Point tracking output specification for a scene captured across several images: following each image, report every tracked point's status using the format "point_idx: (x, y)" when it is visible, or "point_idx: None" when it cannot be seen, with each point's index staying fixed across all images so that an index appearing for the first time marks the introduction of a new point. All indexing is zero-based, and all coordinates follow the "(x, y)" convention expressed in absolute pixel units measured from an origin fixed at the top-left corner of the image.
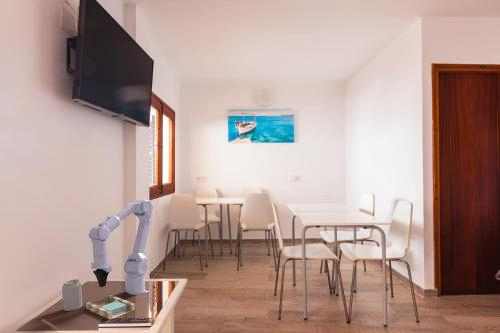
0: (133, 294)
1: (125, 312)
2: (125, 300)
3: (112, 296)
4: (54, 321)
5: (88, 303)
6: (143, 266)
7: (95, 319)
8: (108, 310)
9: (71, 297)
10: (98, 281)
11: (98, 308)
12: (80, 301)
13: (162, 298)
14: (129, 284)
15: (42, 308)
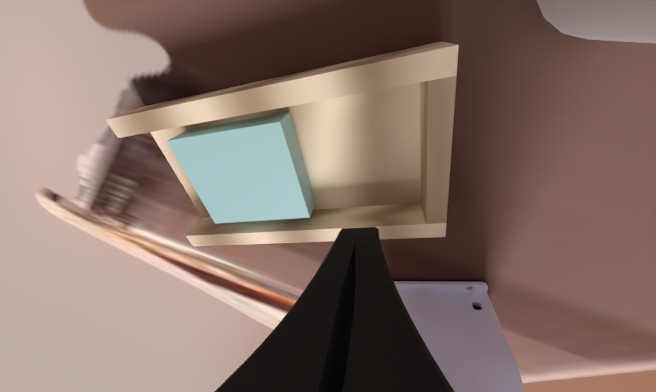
0: (403, 293)
1: (196, 193)
2: (267, 242)
3: (398, 231)
4: None
5: (415, 62)
6: None
7: (215, 50)
8: (185, 136)
9: None
10: (362, 275)
11: (227, 94)
12: (574, 2)
13: (286, 312)
14: (435, 339)
15: None
